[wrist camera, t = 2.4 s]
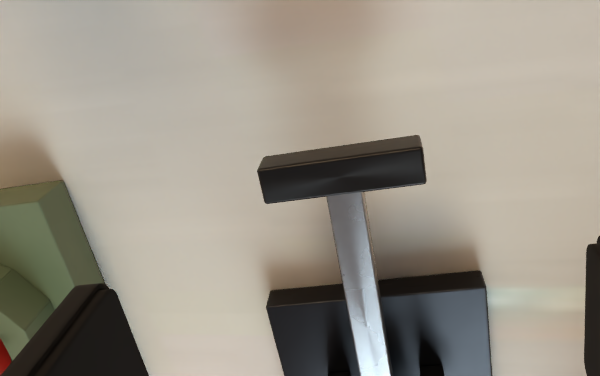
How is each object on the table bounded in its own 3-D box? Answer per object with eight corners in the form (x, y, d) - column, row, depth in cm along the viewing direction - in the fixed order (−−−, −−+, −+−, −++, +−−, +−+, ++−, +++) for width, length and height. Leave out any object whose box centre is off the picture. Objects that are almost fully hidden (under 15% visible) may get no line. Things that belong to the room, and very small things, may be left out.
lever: (266, 149, 19) (252, 177, 16) (418, 127, 18) (424, 154, 16) (338, 471, 24) (335, 524, 22) (456, 467, 23) (465, 521, 21)
